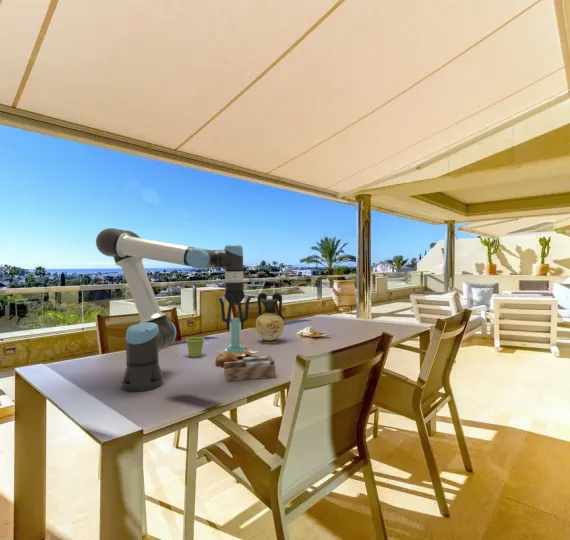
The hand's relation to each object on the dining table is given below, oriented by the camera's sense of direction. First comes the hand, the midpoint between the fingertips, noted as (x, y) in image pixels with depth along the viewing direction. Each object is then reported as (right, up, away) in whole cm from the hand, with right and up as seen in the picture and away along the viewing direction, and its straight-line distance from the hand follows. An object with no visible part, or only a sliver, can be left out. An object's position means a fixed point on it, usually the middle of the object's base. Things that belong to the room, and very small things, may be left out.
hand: (235, 337), depth 146 cm
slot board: (+6, -16, +2) cm, 17 cm away
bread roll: (-6, -16, +18) cm, 25 cm away
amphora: (+12, -16, +65) cm, 68 cm away
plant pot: (-25, -16, +34) cm, 45 cm away
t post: (0, -6, 0) cm, 6 cm away
